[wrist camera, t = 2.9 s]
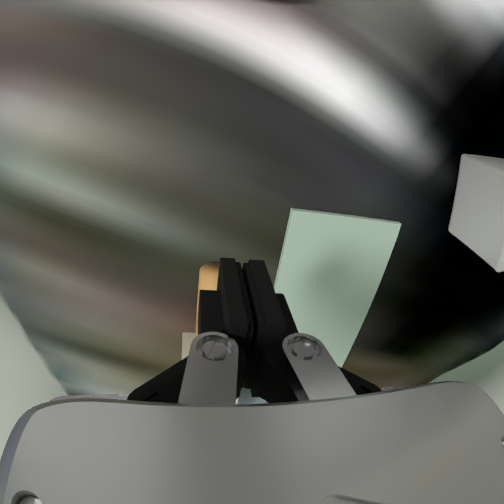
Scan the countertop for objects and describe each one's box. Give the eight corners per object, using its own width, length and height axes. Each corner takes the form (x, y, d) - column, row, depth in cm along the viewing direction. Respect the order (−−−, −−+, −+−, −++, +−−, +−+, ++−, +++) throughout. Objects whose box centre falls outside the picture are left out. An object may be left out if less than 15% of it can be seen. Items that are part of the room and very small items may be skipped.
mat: (291, 208, 21) (292, 210, 21) (398, 222, 23) (401, 224, 23) (250, 381, 30) (251, 384, 29) (333, 377, 31) (335, 380, 31)
